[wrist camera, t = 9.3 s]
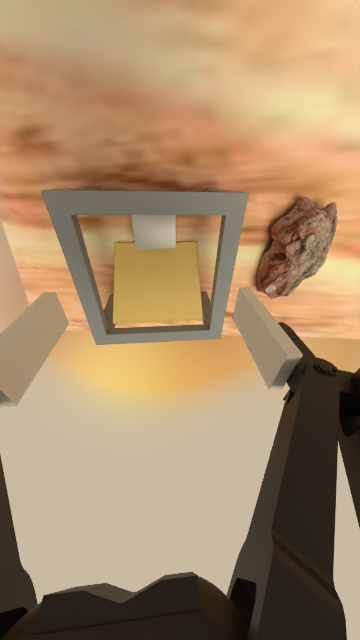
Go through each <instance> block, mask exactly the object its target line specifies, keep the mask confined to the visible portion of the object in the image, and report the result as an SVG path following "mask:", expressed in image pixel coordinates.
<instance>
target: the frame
mask: <svg viewBox="0 0 360 640" xmlns="http://www.w3.org/2000/svg"><path fill="white" fill-rule="evenodd" d="M41 192H42V195H43V198H44V200H45V203H46V206H47V209H48V211H49V214H50V217H51V220H52V223H53V225H54V228H55V231H56V234H57V237H58V239H59V242H60V245H61V248H62V251H63V253H64V256H65V259H66V262H67V265H68V267H69V270H70V273H71V276H72V279H73V281H74V284H75V287H76V290H77V293H78V295H79V298H80V301H81V304H82V307H83V309H84V312H85V315H86V318H87V321H88V323H89V326H90V329H91V332H92V334H93V337H94V340H95V343H96V345H105V344H126V343H147V342H168V341H187V340H209V339H220V338H221V333H222V328H223V322H224V317H225V312H226V307H227V302H228V297H229V291H230V286H231V281H232V276H233V271H234V265H235V260H236V255H237V250H238V245H239V240H240V234H241V229H242V224H243V219H244V214H245V208H246V203H247V198H248V193H245V192H237V191H229V190H221V189H205V192H180V191H99V188H96V187H83V188H69V189H55V190H41ZM77 215H222V220H221V227H220V235H219V243H218V250H217V258H216V266H215V273H214V281H213V289H212V296H211V302H210V299H209V297H208V295H207V292H201V303H202V314H203V323H204V325H182V326H158V327H134V328H115V324H114V323H113V300H114V295H111V296H110V298H109V300H108V302H107V305H106V307H105V309H104V311H103V307H102V303H101V300H100V296H99V293H98V289H97V286H96V282H95V279H94V275H93V271H92V268H91V264H90V261H89V257H88V254H87V250H86V247H85V243H84V240H83V236H82V232H81V229H80V225H79V222H78V218H77Z"/></svg>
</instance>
